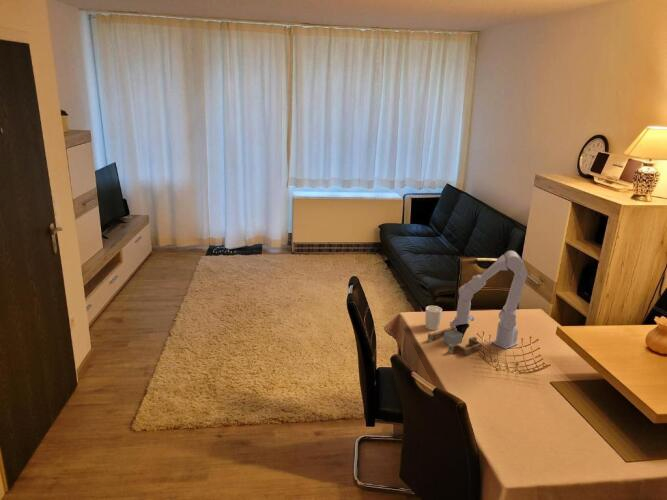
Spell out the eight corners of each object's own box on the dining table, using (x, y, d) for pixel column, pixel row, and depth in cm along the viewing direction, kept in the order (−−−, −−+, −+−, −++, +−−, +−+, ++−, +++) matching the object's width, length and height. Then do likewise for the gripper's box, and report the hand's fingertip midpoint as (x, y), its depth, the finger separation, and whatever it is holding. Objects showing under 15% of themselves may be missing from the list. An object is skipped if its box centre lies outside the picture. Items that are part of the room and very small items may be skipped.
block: (454, 338, 234) (455, 329, 233) (461, 342, 230) (462, 333, 229) (443, 341, 231) (444, 332, 230) (450, 346, 227) (451, 337, 226)
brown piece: (452, 331, 241) (453, 324, 240) (484, 348, 226) (485, 341, 225) (427, 340, 231) (428, 333, 230) (459, 358, 216) (460, 351, 215)
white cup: (420, 325, 247) (422, 306, 244) (433, 322, 250) (435, 304, 247) (430, 332, 240) (432, 313, 237) (443, 329, 243) (445, 310, 240)
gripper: (467, 304, 236) (463, 330, 240) (446, 311, 228) (443, 337, 232) (478, 309, 231) (475, 336, 235) (457, 316, 223) (454, 344, 227)
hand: (460, 337), depth 233 cm, fingers closed
